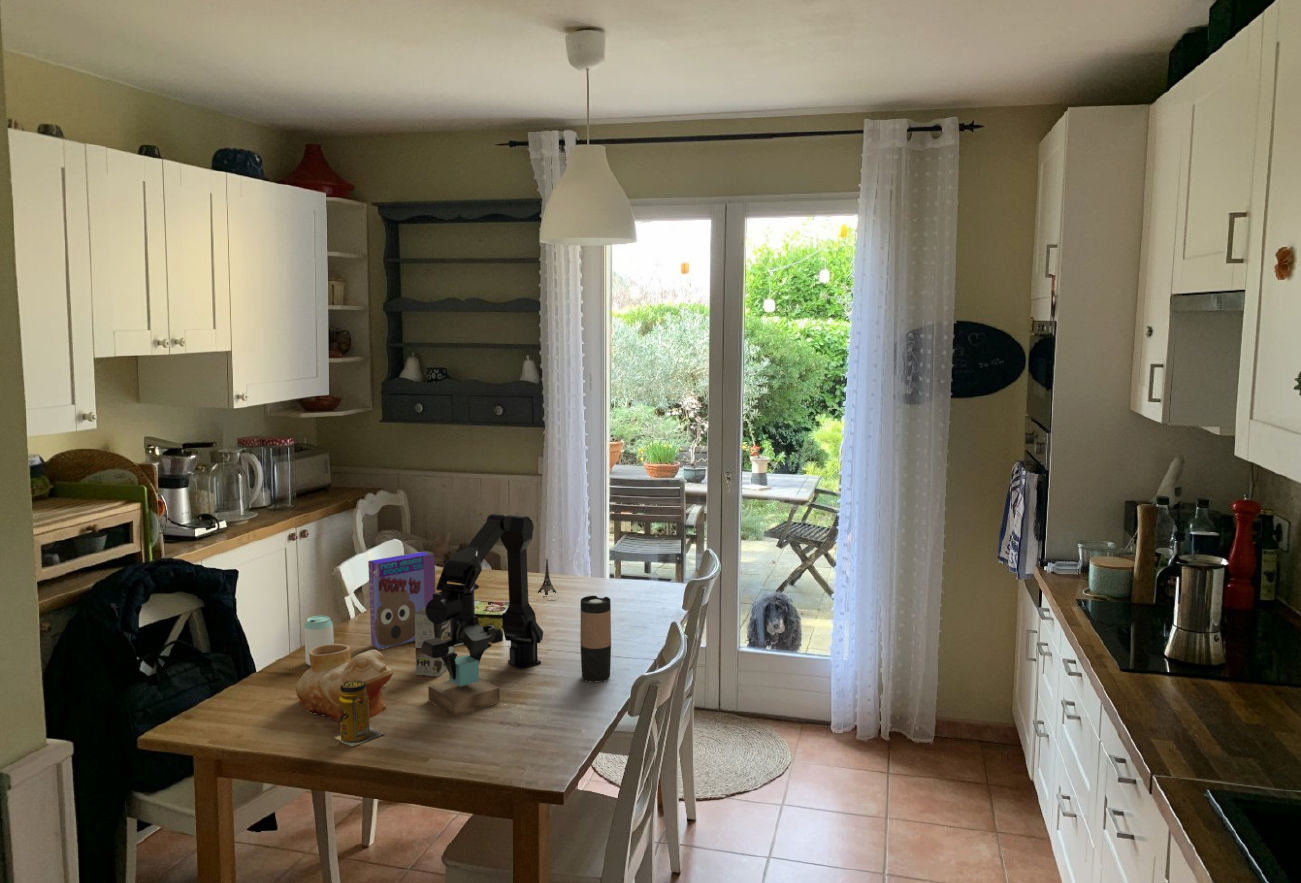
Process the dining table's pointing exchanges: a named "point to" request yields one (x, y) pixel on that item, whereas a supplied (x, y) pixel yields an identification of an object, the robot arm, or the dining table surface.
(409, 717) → the dining table surface
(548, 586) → the eiffel tower figurine
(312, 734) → the dining table surface
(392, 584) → the cereal box
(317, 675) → the ceramic vessel
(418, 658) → the coffee box
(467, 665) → the teal block
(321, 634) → the can
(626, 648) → the dining table surface
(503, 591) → the dining table surface
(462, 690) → the walnut block
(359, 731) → the condiment
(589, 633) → the travel mug
